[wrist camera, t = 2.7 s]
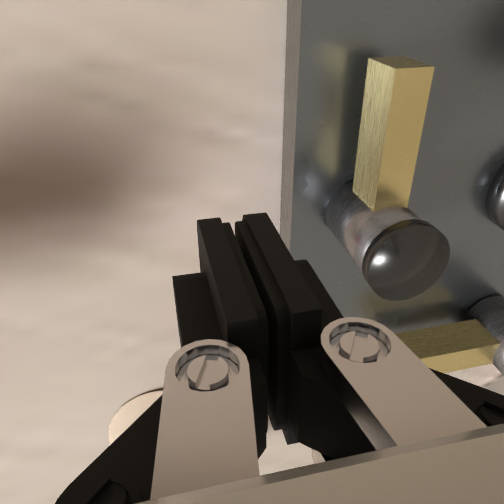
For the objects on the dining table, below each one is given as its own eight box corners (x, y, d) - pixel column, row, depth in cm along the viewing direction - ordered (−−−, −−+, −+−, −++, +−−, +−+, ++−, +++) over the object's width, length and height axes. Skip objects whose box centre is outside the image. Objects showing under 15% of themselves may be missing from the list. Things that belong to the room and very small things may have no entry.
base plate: (289, -58, 16) (322, -62, 14) (654, -57, 20) (738, -60, 17) (276, 356, 27) (293, 398, 24) (513, 313, 30) (551, 347, 28)
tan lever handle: (384, 236, 22) (439, 294, 18) (320, 245, 21) (364, 306, 18) (416, 52, 18) (497, 77, 14) (337, 55, 17) (399, 83, 13)
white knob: (517, 290, 26) (585, 346, 22) (502, 333, 28) (561, 391, 24) (386, 312, 25) (434, 376, 21) (378, 356, 26) (421, 422, 23)
